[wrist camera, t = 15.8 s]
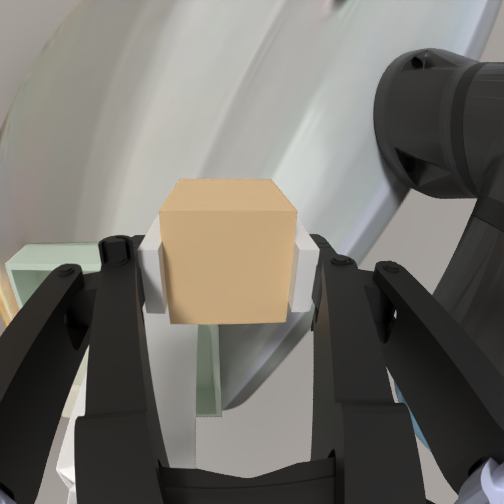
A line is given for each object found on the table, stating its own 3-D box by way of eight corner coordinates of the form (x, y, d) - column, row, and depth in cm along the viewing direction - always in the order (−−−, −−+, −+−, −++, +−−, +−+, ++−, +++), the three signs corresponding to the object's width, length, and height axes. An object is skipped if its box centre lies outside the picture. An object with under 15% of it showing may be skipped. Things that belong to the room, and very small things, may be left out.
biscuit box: (271, 179, 16) (297, 211, 11) (266, 261, 19) (285, 321, 13) (179, 179, 16) (158, 211, 11) (183, 262, 18) (170, 324, 13)
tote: (216, 240, 27) (217, 263, 23) (220, 388, 36) (222, 416, 32) (27, 243, 25) (4, 263, 21) (74, 380, 33) (65, 405, 29)
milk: (159, 333, 30) (133, 544, 11) (115, 296, 28) (44, 513, 8) (201, 303, 29) (201, 543, 9) (156, 260, 27) (92, 515, 7)
